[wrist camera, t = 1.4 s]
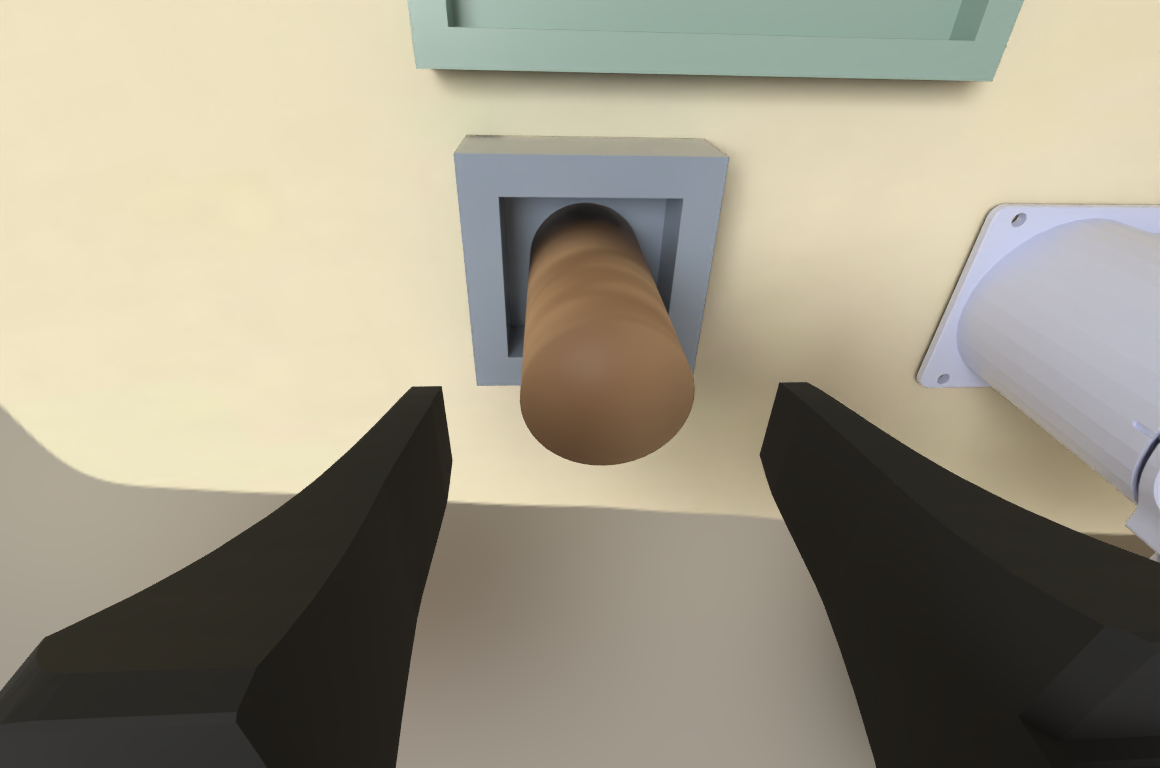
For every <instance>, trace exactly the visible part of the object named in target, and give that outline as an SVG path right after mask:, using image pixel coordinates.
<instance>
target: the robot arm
mask: <svg viewBox="0 0 1160 768" xmlns="http://www.w3.org/2000/svg"><path fill="white" fill-rule="evenodd" d="M1017 214H1019V215H1018V218H1017V219H1016V221H1014V222H1013V223H1012V219H1013V218H1014V217H1015V216H1016V215H1017ZM941 375H943V376H942V377H940V376H941ZM939 377H940V378H939ZM916 379H917V381H918V382H919V383H920V384H921V385H922V386H923V387H926V388H953V387H993V388H994V389H995V390H996V391H998V392H999V393H1000V394H1001V395H1003V396H1004V397H1005V398H1006V399H1007V400H1009V401H1010V402H1011V403H1012V404H1014V405H1015V406H1016V407H1017V408H1018V409H1020V410H1021V411H1022V412H1023V413H1024V414H1026V415H1027V416H1028V417H1029V418H1031V419H1032V420H1033V421H1034V422H1035V423H1037V424H1038V425H1039V426H1040V427H1042V428H1043V429H1044V430H1045V431H1046V432H1048V433H1049V434H1050V435H1051V436H1053V437H1054V438H1055V439H1056V440H1057V441H1059V442H1060V443H1061V444H1062V445H1063V446H1065V447H1066V448H1067V449H1068V450H1070V451H1071V452H1072V453H1073V454H1074V455H1076V456H1077V457H1078V458H1079V459H1081V460H1082V461H1083V462H1084V463H1085V464H1087V465H1088V466H1089V467H1090V468H1092V469H1093V470H1094V471H1095V472H1096V473H1098V474H1099V475H1100V476H1101V477H1102V478H1104V479H1105V480H1106V481H1107V482H1109V483H1110V484H1111V485H1112V486H1113V487H1115V488H1116V489H1117V490H1118V491H1120V492H1121V493H1122V494H1123V495H1124V496H1126V497H1127V498H1128V499H1129V500H1131V501H1132V502H1133V503H1134V504H1135V505H1137V508H1136V509H1135V511H1134V513H1133V514H1132V515H1131V517H1130V518H1129V519H1128V520H1127V521H1126V523H1125V526H1126V527H1127V528H1129V529H1130V530H1131V531H1132V532H1133V533H1134V534H1136V535H1137V536H1138V537H1139V538H1140V539H1141V540H1142V541H1144V542H1145V543H1146V544H1147V545H1148V546H1149V547H1150V548H1152V549H1153V550H1154V551H1155V552H1156V553H1155V554H1154V555H1153V556H1151V557H1150V558H1149V559H1148V558H1146V557H1143V556H1140V555H1137V554H1135V553H1132V552H1129V551H1127V550H1124V549H1121V548H1118V547H1115V546H1113V545H1110V544H1108V543H1104V542H1102V541H1100V540H1097V539H1095V538H1092V537H1090V536H1087V535H1085V534H1082V533H1080V532H1077V531H1074V530H1072V529H1070V528H1067V527H1065V526H1063V525H1060V524H1058V523H1056V522H1053V521H1051V520H1049V519H1046V518H1044V517H1042V516H1040V515H1037V514H1035V513H1033V512H1030V511H1028V510H1026V509H1024V508H1021V507H1019V506H1017V505H1015V504H1013V503H1011V502H1009V501H1006V500H1004V499H1002V498H1000V497H998V496H996V495H994V494H992V493H990V492H988V491H986V490H984V489H982V488H980V487H978V486H977V485H975V484H973V483H971V482H969V481H967V480H965V479H963V478H961V477H959V476H957V475H955V474H954V473H952V472H950V471H948V470H946V469H945V468H943V467H941V466H939V465H938V464H936V463H934V462H933V461H931V460H929V459H928V458H926V457H924V456H922V455H921V454H919V453H917V452H916V451H914V450H912V449H911V448H909V447H908V446H906V445H904V444H903V443H901V442H899V441H898V440H896V439H895V438H893V437H892V436H890V435H888V434H887V433H885V432H884V431H882V430H881V429H879V428H878V427H876V426H875V425H873V424H872V423H870V422H869V421H867V420H866V419H864V418H863V417H861V416H860V415H858V414H857V413H855V412H854V411H852V410H851V409H849V408H848V407H846V406H845V405H843V404H842V403H840V402H839V401H837V400H835V399H834V398H832V397H831V396H829V395H828V394H826V393H825V392H823V391H821V390H820V389H818V388H816V387H815V386H813V385H811V384H809V383H807V382H792V383H779V386H778V390H777V393H776V397H775V401H774V404H773V408H772V412H771V415H770V419H769V423H768V426H767V430H766V434H765V437H764V441H763V445H762V448H761V452H760V458H761V461H762V464H763V468H764V471H765V475H766V478H767V481H768V484H769V487H770V490H771V493H772V496H773V498H774V500H775V502H776V504H777V506H778V509H779V511H780V513H781V515H782V517H783V519H784V521H785V523H786V525H787V528H788V530H789V531H790V534H791V536H792V537H793V540H794V542H795V544H796V546H797V548H798V550H799V552H800V554H801V556H802V558H803V560H804V562H805V565H806V567H807V569H808V571H809V572H810V575H811V577H812V579H813V581H814V583H815V585H816V587H817V590H818V592H819V594H820V597H821V599H822V601H823V604H824V606H825V609H826V612H827V615H828V617H829V620H830V623H831V626H832V628H833V631H834V634H835V636H836V639H837V642H838V645H839V648H840V650H841V653H842V657H843V659H844V663H845V665H846V669H847V672H848V675H849V678H850V681H851V684H852V687H853V690H854V693H855V696H856V699H857V703H858V706H859V709H860V713H861V716H862V719H863V723H864V726H865V730H866V733H867V736H868V739H869V743H870V746H871V750H872V753H873V757H874V760H875V764H876V768H1160V205H1107V204H1001V205H999V206H997V207H995V208H994V209H993V210H991V211H990V213H989V214H988V216H987V217H986V220H985V222H984V224H983V227H982V229H981V231H980V233H979V236H978V238H977V240H976V242H975V245H974V247H973V249H972V252H971V254H970V256H969V258H968V261H967V263H966V265H965V267H964V270H963V272H962V274H961V276H960V279H959V281H958V283H957V286H956V288H955V290H954V292H953V295H952V297H951V299H950V301H949V304H948V306H947V308H946V311H945V313H944V315H943V317H942V320H941V322H940V324H939V326H938V329H937V331H936V333H935V336H934V338H933V340H932V342H931V345H930V347H929V349H928V351H927V354H926V356H925V358H924V360H923V363H922V365H921V367H920V370H919V372H918V374H917V378H916ZM451 468H452V454H451V447H450V440H449V434H448V427H447V420H446V413H445V406H444V399H443V392H442V386H427V387H411V388H410V389H409V390H408V391H407V392H406V393H405V394H404V395H403V396H402V397H401V398H400V399H399V400H398V401H397V402H396V403H395V404H394V405H393V407H392V408H391V409H390V410H389V411H388V412H387V413H386V414H385V415H384V416H383V417H382V418H381V419H380V420H379V421H378V422H377V423H376V424H375V425H374V426H373V427H372V428H371V429H370V430H369V431H368V432H367V433H366V434H365V435H364V436H363V437H362V438H361V439H360V440H359V441H358V442H357V443H356V444H355V445H354V446H353V447H352V448H351V449H350V450H349V451H348V452H347V453H345V454H344V455H343V456H342V457H341V458H340V459H339V460H338V461H336V462H335V463H334V464H333V465H332V466H331V467H330V468H329V469H328V470H326V471H325V472H324V473H323V474H322V475H321V476H320V477H318V478H317V479H316V480H315V481H314V482H312V483H311V484H310V485H309V486H307V487H306V488H305V489H303V490H302V491H301V492H300V493H298V494H297V495H296V496H294V497H293V498H292V499H290V500H289V501H288V502H286V503H285V504H284V505H282V506H281V507H280V508H278V509H277V510H275V511H274V512H273V513H271V514H270V515H269V516H267V517H266V518H264V519H262V520H261V521H259V522H258V523H256V524H255V525H253V526H252V527H250V528H248V529H247V530H245V531H244V532H242V533H241V534H239V535H238V536H236V537H235V538H233V539H231V540H230V541H228V542H227V543H225V544H224V545H222V546H221V547H219V548H218V549H216V550H214V551H213V552H211V553H209V554H208V555H206V556H204V557H202V558H201V559H199V560H197V561H195V562H194V563H192V564H190V565H189V566H187V567H185V568H183V569H182V570H180V571H178V572H176V573H174V574H172V575H170V576H169V577H167V578H165V579H163V580H161V581H159V582H158V583H156V584H154V585H152V586H150V587H148V588H146V589H144V590H143V591H140V592H139V593H137V594H135V595H133V596H131V597H129V598H127V599H125V600H123V601H121V602H118V603H116V604H114V605H112V606H110V607H108V608H106V609H104V610H102V611H100V612H98V613H96V614H94V615H92V616H89V617H87V618H85V619H83V620H81V621H79V622H77V623H75V624H73V625H71V626H69V627H67V628H65V629H62V630H60V631H58V632H56V633H54V634H51V635H49V636H47V637H45V638H44V639H43V640H42V641H41V642H40V644H39V645H38V646H37V647H36V648H35V649H34V651H33V652H32V653H31V654H30V656H29V657H28V658H27V659H26V660H25V662H24V663H23V664H22V666H21V667H20V668H19V669H18V670H17V671H16V673H15V674H14V675H13V676H12V678H11V679H10V680H9V681H8V683H7V684H6V685H5V686H4V687H3V689H2V690H1V691H0V768H396V760H397V753H398V746H399V738H400V730H401V722H402V715H403V708H404V701H405V695H406V687H407V680H408V673H409V667H410V660H411V654H412V647H413V642H414V636H415V629H416V622H417V617H418V613H419V608H420V604H421V599H422V595H423V591H424V588H425V584H426V580H427V576H428V573H429V569H430V565H431V561H432V558H433V554H434V550H435V546H436V543H437V539H438V535H439V531H440V528H441V523H442V520H443V516H444V512H445V508H446V504H447V499H448V492H449V484H450V476H451Z"/></svg>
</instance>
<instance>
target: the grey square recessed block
mask: <svg viewBox="0 0 1160 768" xmlns="http://www.w3.org/2000/svg"><path fill="white" fill-rule="evenodd" d="M728 161H729V157H728V156H727V155H726V154H724V153H723V152H722V151H720V150H719V149H718V148H716V147H715V146H714V145H712V144H711V143H709V142H708V141H707V140H705V139H691V138H627V137H563V136H499V135H466V136H465V138H464V139H463V141H462V142H461V144H460V145H459V146H458V148H457V149H456V151H455V152H454V162H455V172H456V182H457V192H458V202H459V212H460V222H461V232H462V242H463V252H464V262H465V272H466V282H467V292H468V302H469V311H470V321H471V331H472V341H473V351H474V361H475V371H476V381H477V386H496V385H521V376H522V362H523V348H524V333H525V319H526V305H527V291H528V277H529V262H530V250H531V244H532V241H533V238H534V236H535V233H536V231H537V230H538V228H539V227H540V225H541V224H542V223H543V222H544V220H545V219H546V218H547V217H549V216H550V215H551V214H552V213H554V212H555V211H557V210H559V209H561V208H563V207H565V206H568V205H571V204H576V203H596V204H600V205H603V206H606V207H609V208H611V209H613V210H614V211H616V212H617V213H619V214H620V215H621V216H622V217H623V218H624V219H625V220H626V221H627V222H628V223H629V225H630V226H631V228H632V229H633V231H634V233H635V236H636V238H637V241H638V243H639V246H640V248H641V250H642V253H643V255H644V258H645V260H646V262H647V265H648V267H649V270H650V272H651V274H652V277H653V279H654V282H655V284H656V287H657V289H658V291H659V294H660V296H661V299H662V301H663V303H664V306H665V308H666V311H667V313H668V315H669V318H670V320H671V323H672V325H673V328H674V330H675V332H676V335H677V337H678V340H679V342H680V344H681V347H682V349H683V352H684V354H685V357H686V359H687V361H688V364H689V366H690V369H691V371H692V375H693V372H694V366H695V360H696V354H697V348H698V342H699V336H700V330H701V324H702V318H703V312H704V306H705V300H706V294H707V288H708V282H709V276H710V270H711V264H712V258H713V252H714V246H715V240H716V234H717V228H718V221H719V215H720V209H721V203H722V197H723V191H724V185H725V179H726V173H727V167H728Z"/></svg>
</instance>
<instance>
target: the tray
mask: <svg viewBox="0 0 1160 768" xmlns="http://www.w3.org/2000/svg"><path fill="white" fill-rule="evenodd" d="M1023 1H1024V0H408V8H409V16H410V24H411V31H412V39H413V47H414V55H415V63H416V69H461V70H506V71H551V72H596V73H640V74H685V75H730V76H775V77H820V78H865V79H910V80H955V81H993V78H994V75H995V73H996V70H997V68H998V65H999V63H1000V60H1001V58H1002V55H1003V52H1004V50H1005V47H1006V45H1007V42H1008V40H1009V37H1010V35H1011V32H1012V30H1013V27H1014V24H1015V22H1016V19H1017V17H1018V14H1019V12H1020V9H1021V7H1022V4H1023Z"/></svg>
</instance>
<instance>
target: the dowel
mask: <svg viewBox="0 0 1160 768" xmlns="http://www.w3.org/2000/svg"><path fill="white" fill-rule="evenodd" d="M693 400H694V379H693V375H692V371H691V369H690V366H689V364H688V361H687V359H686V357H685V354H684V352H683V349H682V347H681V344H680V342H679V340H678V337H677V335H676V332H675V330H674V328H673V325H672V323H671V320H670V318H669V315H668V313H667V311H666V308H665V306H664V303H663V301H662V299H661V296H660V294H659V291H658V289H657V287H656V284H655V282H654V279H653V277H652V274H651V272H650V270H649V267H648V265H647V262H646V260H645V258H644V255H643V253H642V250H641V248H640V246H639V243H638V241H637V238H636V236H635V233H634V231H633V229H632V228H631V226H630V225H629V223H628V222H627V221H626V220H625V219H624V218H623V217H622V216H621V215H620V214H619V213H617V212H616V211H614V210H613V209H611V208H609V207H606V206H603V205H600V204H596V203H576V204H571V205H568V206H565V207H563V208H561V209H559V210H557V211H555V212H554V213H552V214H551V215H550V216H549V217H547V218H546V219H545V220H544V222H543V223H542V224H541V225H540V227H539V228H538V230H537V231H536V233H535V236H534V238H533V241H532V244H531V250H530V262H529V277H528V291H527V305H526V319H525V333H524V348H523V362H522V376H521V390H520V405H521V411H522V415H523V418H524V421H525V423H526V425H527V427H528V429H529V430H530V432H531V433H532V435H533V436H534V437H535V438H536V439H537V440H538V441H539V442H540V443H541V444H542V445H543V446H544V447H545V448H547V449H548V450H550V451H551V452H553V453H554V454H556V455H558V456H560V457H562V458H565V459H568V460H571V461H573V462H578V463H582V464H589V465H615V464H621V463H626V462H630V461H634V460H637V459H639V458H642V457H644V456H646V455H648V454H650V453H653V452H654V451H656V450H657V449H659V448H661V447H662V446H663V445H665V444H666V443H667V442H668V441H670V440H671V439H672V438H673V437H674V436H675V435H676V434H677V432H678V431H679V430H680V429H681V427H682V426H683V424H684V423H685V421H686V419H687V418H688V415H689V413H690V411H691V408H692V404H693Z"/></svg>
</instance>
